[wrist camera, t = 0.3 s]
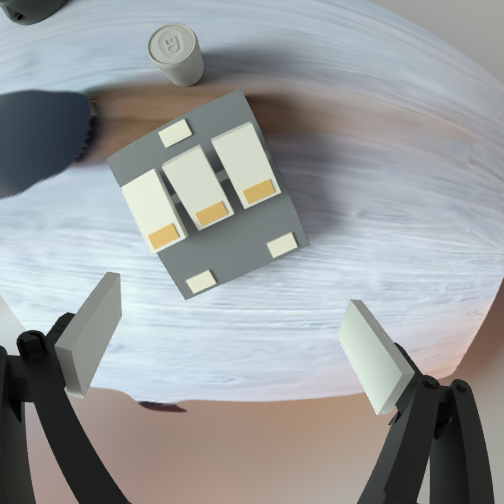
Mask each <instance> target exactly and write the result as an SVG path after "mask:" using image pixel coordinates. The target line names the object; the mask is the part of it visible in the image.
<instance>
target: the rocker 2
mask: <svg viewBox="0 0 504 504" xmlns="http://www.w3.org/2000/svg"><path fill="white" fill-rule="evenodd" d="M162 169H163V170H164V172H165V174H166V176H167V177H168V179H169V181H170V183H171V184H172V186H173V188H174V190H175V191H176V193H177V195H178V196H179V198H180V200H181V202H182V203H183V205H184V207H185V208H186V210H187V212H188V214H189V215H190V217H191V219H192V220H193V222H194V224H195V225H196V227H197V229H198V230H199V231H200V230H202V229H204V228H206V227H208V226H210V225H212V224H214V223H216V222H219V221H221V220H223V219H225V218H227V217H229V216H231V215H233V214H234V211H233V208H232V206H231V204H230V202H229V200H228V198H227V196H226V194H225V192H224V190H223V188H222V186H221V184H220V182H219V180H218V178H217V176H216V174H215V172H214V171H213V169H212V167H211V165H210V163H209V161H208V159H207V157H206V155H205V153H204V151H203V149H202V147H201V145H200V144H199V145H197V146H195V147H193V148H191V149H189V150H188V151H186V152H184V153H182V154H180V155H178V156H176V157H174V158H172V159H170V160H168V161H166V162H165V163H163V166H162Z"/></svg>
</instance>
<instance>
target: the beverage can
mask: <svg viewBox="0 0 504 504" xmlns="http://www.w3.org/2000/svg"><path fill="white" fill-rule="evenodd" d="M147 51H148V56H149V57H150V59H151V61H152V62H153V63H154V64H155V65H156V66H157V67H158V68H159V69H160V70H161V71H162V72H163V73H164V74H165V75H166V76H167V77H168V78H169V79H170V80H171V81H172V82H173V83H174V84H176V85H178V86H181V87H187V86H191V85H193V84H195V83H197V82H198V81H199V80H200V78H201V77H202V75H203V72H204V62H203V59H202V55H201V51H200V47H199V43H198V40H197V37H196V35H195V33H194V32H193V31H192V30H191V29H190V28H189V27H187V26H185V25H183V24H179V23H171V24H167V25H164V26H162V27H160V28H158V29H157V30H156V31H155V32H154V33H153V34H152V35H151V36H150V38H149V41H148V44H147Z"/></svg>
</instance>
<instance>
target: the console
mask: <svg viewBox="0 0 504 504" xmlns="http://www.w3.org/2000/svg"><path fill="white" fill-rule="evenodd" d="M247 122H250V123H252V125H253V127H254V130H255V132H256V134H257V136H258V139H259V141H260V143H261V146H262V148H263V150H264V153H265V155H266V157H267V160H268V162H269V164H270V167H271V169H272V172H273V174H274V176H275V179H276V181H277V184H278V186H279V188H280V191H281V193H279V194H277V195H275V196H273V197H270V198H268V199H266V200H264V201H261V202H259V203H257V204H255V205H253V206H251V207H248V208H246V209H244V207H243V205H242V203H241V201H240V198H239V196H238V194H237V192H236V190H235V188H234V186H233V184H232V182H231V180H230V178H229V176H228V174H227V172H226V170H225V168H224V166H223V164H222V162H221V160H220V158H219V156H218V154H217V152H216V150H215V148H214V146H213V144H212V142H211V139H212V138H214V137H216V136H218V135H220V134H223V133H225V132H227V131H229V130H231V129H233V128H236V127H238V126H240V125H242V124H245V123H247ZM199 144H200V145H201V147H202V149H203V151H204V153H205V155H206V157H207V159H208V161H209V163H210V165H211V167H212V169H213V171H214V172H215V174H216V176H217V178H218V180H219V182H220V184H221V186H222V188H223V190H224V192H225V194H226V196H227V198H228V200H229V202H230V204H231V206H232V208H233V211H234V214H233V215H231V216H229V217H227V218H225V219H223V220H221V221H219V222H216V223H214V224H212V225H210V226H208V227H206V228H204V229H202V230H200V231H199V230H198V229H197V227H196V225H195V224H194V222H193V220H192V219H191V217H190V215H189V214H188V212H187V210H186V208H185V207H184V205H183V203H182V202H181V200H180V198H179V196H178V195H177V193H176V191H175V190H174V188H173V186H172V184H171V183H170V181H169V179H168V177H167V176H166V174H165V172H164V170H163V169H162V166H163V163H165V162H166V161H168V160H170V159H172V158H174V157H176V156H178V155H180V154H182V153H184V152H186V151H188V150H189V149H191V148H193V147H195V146H197V145H199ZM106 160H107V162H108V164H109V166H110V168H111V170H112V172H113V174H114V176H115V178H116V180H117V182H118V184H119V186H120V188H121V187H123V186H124V185H126V184H128V183H129V182H131V181H133V180H134V179H136V178H138V177H140V176H141V175H143V174H145V173H147V172H148V171H150V170H152V169H157V170H159V173H160V175H161V177H162V179H163V182H164V184H165V186H166V188H167V190H168V193H169V195H170V197H171V199H172V201H173V203H174V206H175V208H176V210H177V212H178V214H179V216H180V218H181V220H182V223H183V225H184V227H185V229H186V231H187V233H188V235H189V236H188V237H187V238H185V239H183V240H181V241H179V242H177V243H175V244H173V245H171V246H169V247H167V248H165V249H163V250H161V251H159V252H157V254H158V256H159V258H160V259H161V261H162V263H163V264H164V266H165V268H166V269H167V271H168V273H169V274H170V276H171V278H172V279H173V281H174V282H175V284H176V286H177V287H178V289H179V290H180V292H181V294H182V295H183V297H184V298H185V300H187V299H190V298H192V297H194V296H196V295H199V294H201V293H203V292H205V291H208V290H210V289H212V288H215V287H217V286H219V285H221V284H224V283H226V282H228V281H230V280H233V279H235V278H237V277H239V276H241V275H244V274H246V273H248V272H250V271H253V270H255V269H257V268H259V267H262V266H264V265H266V264H268V263H270V262H273V261H275V260H277V259H279V258H281V257H284V256H286V255H288V254H290V253H292V252H295V251H297V250H299V249H301V248H303V247H305V246H308V245H310V244H309V242H308V239H307V237H306V234H305V232H304V229H303V227H302V224H301V222H300V219H299V217H298V214H297V212H296V210H295V207H294V205H293V202H292V200H291V198H290V195H289V193H288V191H287V188H286V186H285V184H284V181H283V179H282V177H281V174H280V172H279V170H278V167H277V165H276V163H275V161H274V158H273V156H272V154H271V152H270V149H269V147H268V145H267V143H266V141H265V138H264V136H263V134H262V132H261V130H260V128H259V126H258V123H257V121H256V119H255V117H254V115H253V113H252V111H251V109H250V106H249V104H248V102H247V100H246V98H245V96H244V94H243V92H242V90H241V88H240V89H238V90H236V91H233V92H231V93H229V94H226V95H224V96H222V97H220V98H217V99H215V100H213V101H211V102H209V103H206V104H204V105H202V106H200V107H198V108H196V109H194V110H192V111H190V112H188V113H186V114H184V115H182V116H180V117H178V118H176V119H174V120H172V121H170V122H168V123H166V124H165V125H163V126H161V127H159V128H157V129H155V130H154V131H152V132H150V133H148V134H147V135H145V136H143V137H141V138H140V139H138V140H136V141H134V142H133V143H131V144H129V145H128V146H126V147H125V148H123V149H121V150H120V151H118V152H116V153H115V154H113V155H112V156H110V157H109V158H107V159H106ZM121 190H122V189H121Z"/></svg>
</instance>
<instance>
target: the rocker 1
mask: <svg viewBox="0 0 504 504" xmlns="http://www.w3.org/2000/svg"><path fill="white" fill-rule="evenodd" d="M121 189H122V192H123V194H124V196H125V199H126V201H127V203H128V205H129V208H130V210H131V212H132V214H133V216H134V219H135V221H136V223H137V225H138V227H139V229H140V232H141V234H142V236H143V238H144V240H145V242H146V244H147V246H148V248H149V250H150V252H151V254H152V255H153V254H155V253H157V252H159V251H161V250H163V249H165V248H167V247H169V246H171V245H173V244H175V243H177V242H179V241H181V240H183V239H185V238H187V237H188V236H189V235H188V233H187V231H186V229H185V227H184V225H183V223H182V220H181V218H180V216H179V214H178V212H177V210H176V208H175V206H174V203H173V201H172V199H171V197H170V195H169V193H168V190H167V188H166V186H165V184H164V182H163V179H162V177H161V175H160V173H159V170H157V169H152V170H150V171H148V172H147V173H145V174H143V175H141V176H140V177H138V178H136V179H134V180H133V181H131V182H129V183H128V184H126V185H124V186H123V187H121Z"/></svg>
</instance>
